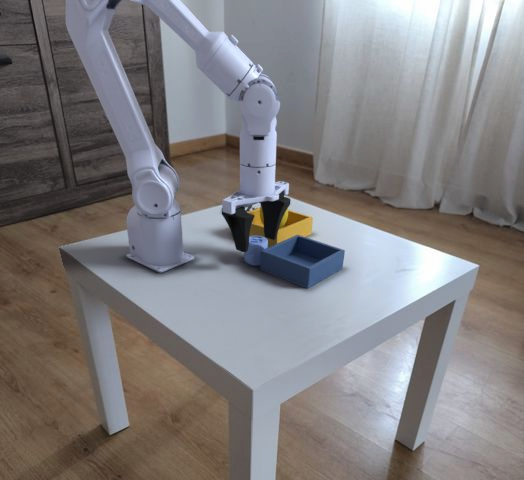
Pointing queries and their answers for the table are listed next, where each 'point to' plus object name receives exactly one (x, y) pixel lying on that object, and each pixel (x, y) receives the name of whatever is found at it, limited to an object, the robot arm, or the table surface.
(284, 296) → the table surface
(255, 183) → the robot arm
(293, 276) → the blue bin
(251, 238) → the light blue short cylinder
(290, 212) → the yellow bin
